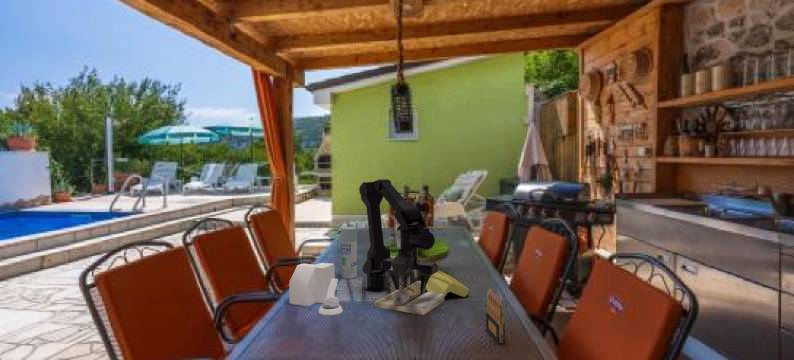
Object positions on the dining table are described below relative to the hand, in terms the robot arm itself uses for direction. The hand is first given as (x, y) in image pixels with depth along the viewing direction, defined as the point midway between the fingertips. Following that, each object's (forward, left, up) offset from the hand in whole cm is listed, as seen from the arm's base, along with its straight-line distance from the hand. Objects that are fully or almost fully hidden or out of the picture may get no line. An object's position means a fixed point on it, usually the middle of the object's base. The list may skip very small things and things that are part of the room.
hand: (409, 291), depth 164 cm
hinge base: (0, 0, -4) cm, 4 cm away
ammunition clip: (+34, -15, -4) cm, 37 cm away
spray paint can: (-38, +20, -4) cm, 43 cm away
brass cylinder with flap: (-2, 0, -3) cm, 3 cm away
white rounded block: (-31, -12, -4) cm, 34 cm away
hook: (-19, -18, -4) cm, 27 cm away
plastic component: (+5, +18, -4) cm, 20 cm away
